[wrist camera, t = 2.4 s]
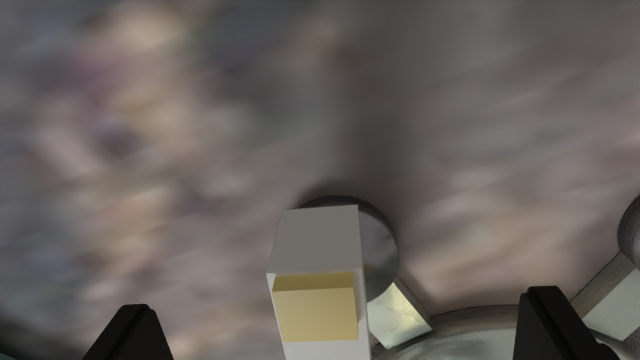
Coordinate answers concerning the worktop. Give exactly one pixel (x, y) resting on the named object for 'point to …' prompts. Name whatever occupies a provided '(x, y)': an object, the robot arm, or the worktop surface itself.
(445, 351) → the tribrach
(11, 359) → the mint green rod
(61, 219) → the worktop surface
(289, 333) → the knob
